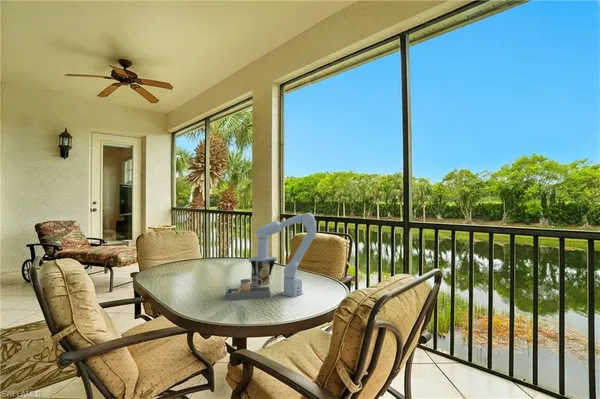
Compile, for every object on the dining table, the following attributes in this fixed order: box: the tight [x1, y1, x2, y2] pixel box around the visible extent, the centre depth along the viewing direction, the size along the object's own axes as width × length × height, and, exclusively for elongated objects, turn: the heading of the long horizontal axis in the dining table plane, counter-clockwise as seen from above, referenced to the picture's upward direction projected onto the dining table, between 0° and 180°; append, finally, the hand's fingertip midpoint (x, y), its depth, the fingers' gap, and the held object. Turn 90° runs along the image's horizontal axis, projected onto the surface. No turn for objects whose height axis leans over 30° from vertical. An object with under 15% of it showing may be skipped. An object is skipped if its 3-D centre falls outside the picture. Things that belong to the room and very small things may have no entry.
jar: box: [240, 278, 251, 292], centre depth 152 cm, size 5×5×7 cm
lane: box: [225, 286, 273, 301], centre depth 153 cm, size 23×9×4 cm, turn 101°
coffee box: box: [250, 256, 271, 287], centre depth 173 cm, size 9×6×16 cm
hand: (262, 274), depth 158 cm, fingers open, 7 cm apart
